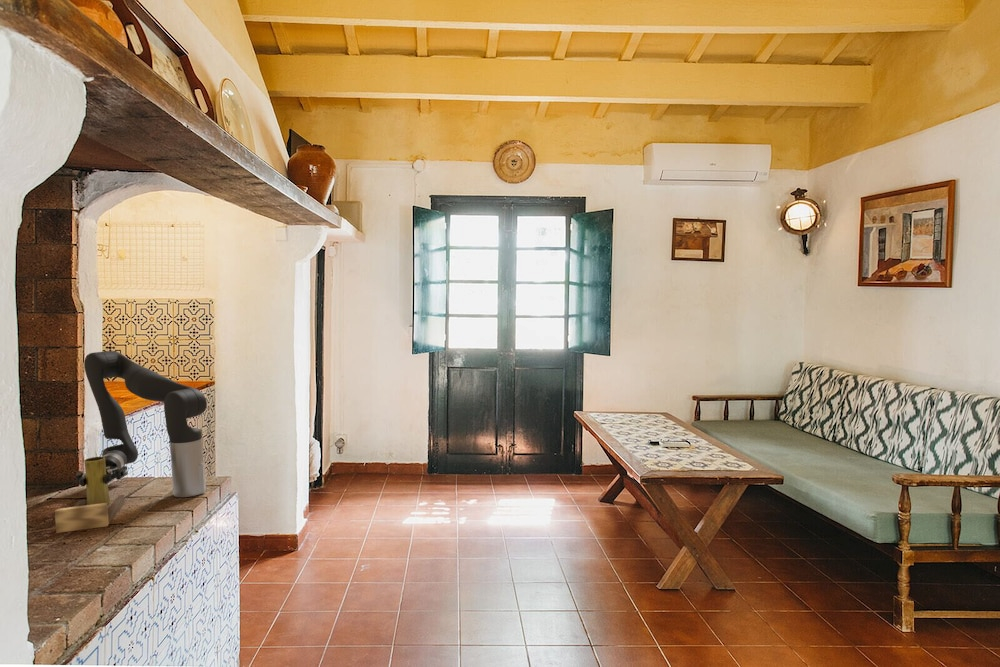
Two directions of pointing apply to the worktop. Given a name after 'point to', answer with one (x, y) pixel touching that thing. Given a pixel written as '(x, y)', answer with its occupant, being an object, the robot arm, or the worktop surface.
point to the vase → (96, 481)
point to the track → (86, 515)
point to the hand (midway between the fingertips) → (94, 481)
